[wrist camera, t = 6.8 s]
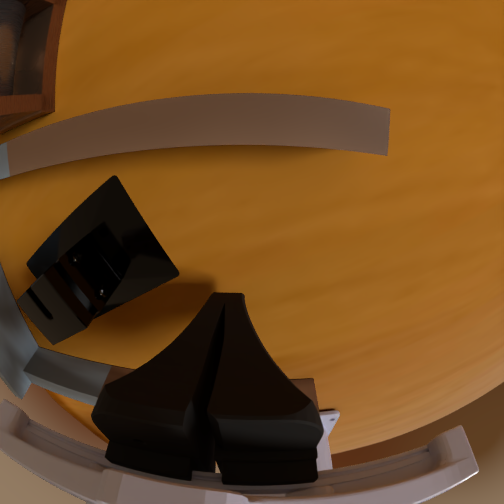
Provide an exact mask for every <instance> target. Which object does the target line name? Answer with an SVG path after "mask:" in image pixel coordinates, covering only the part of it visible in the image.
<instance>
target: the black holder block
mask: <svg viewBox="0 0 504 504" xmlns="http://www.w3.org/2000/svg"><path fill="white" fill-rule="evenodd" d="M27 266H28V268H29V269H30V270H31V272H32V273H33V275H34V276H35V277H36V279H37V280H36V281H35V282H34V283H33V284H32V285H31V287H29V288H28V290H27V291H26V292H25V293H24V294H23V295H22V296H21V297H20V298H19V299H18V300H17V303H18V304H19V305H20V307H21V308H22V309H23V311H24V312H25V313H26V314H27V316H28V317H29V318H30V319H31V321H32V322H33V323H34V324H35V325H36V327H37V328H38V329H39V330H40V331H41V332H42V333H43V335H44V336H45V337H46V338H47V339H48V340H49V341H50V342H51V343H52V344H53V345H54V344H56V343H58V342H60V341H62V340H64V339H66V338H68V337H70V336H72V335H74V334H76V333H78V332H80V331H82V330H84V329H86V328H88V326H89V324H90V323H91V321H92V320H93V319H95V318H97V317H99V316H101V315H103V314H105V313H107V312H108V311H110V310H112V309H114V308H116V307H118V306H120V305H122V304H124V303H126V302H128V301H130V300H132V299H134V298H136V297H138V296H140V295H142V294H144V293H146V292H148V291H150V290H152V289H154V288H156V287H158V286H160V285H161V284H163V283H165V282H167V281H169V280H171V279H173V278H175V277H177V276H179V271H178V270H177V268H176V267H175V265H174V264H173V263H172V261H171V260H170V258H169V257H168V255H167V254H166V252H165V251H164V249H163V248H162V247H161V245H160V244H159V242H158V241H157V239H156V238H155V236H154V235H153V233H152V232H151V230H150V229H149V227H148V225H147V224H146V222H145V221H144V219H143V218H142V216H141V215H140V213H139V211H138V210H137V208H136V207H135V205H134V203H133V202H132V200H131V199H130V197H129V195H128V194H127V192H126V190H125V189H124V187H123V185H122V184H121V182H120V180H119V179H118V177H117V176H115V175H114V176H112V177H111V178H109V179H108V180H107V181H106V182H105V183H104V184H102V185H101V186H100V187H99V188H98V189H97V190H96V191H95V192H93V193H92V194H91V195H90V196H89V197H88V198H87V199H86V200H85V201H84V202H83V203H82V204H81V205H80V206H78V207H77V208H76V209H75V210H74V211H73V212H72V213H71V214H70V215H69V216H68V217H67V218H66V219H65V220H64V221H63V222H62V223H61V225H60V226H59V227H58V228H57V229H56V230H55V231H54V232H53V233H52V234H51V235H50V236H49V237H48V238H47V240H46V241H45V242H44V243H43V244H42V245H41V246H40V248H39V249H38V250H37V251H36V252H35V253H34V255H33V256H32V257H31V258H30V259H29V261H28V262H27Z"/></svg>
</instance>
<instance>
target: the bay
mask: <svg viewBox="0 0 504 504" xmlns="http://www.w3.org/2000/svg"><path fill="white" fill-rule="evenodd" d="M389 124H390V109H388V108H383V107H379V106H374V105H368V104H363V103H357V102H351V101H345V100H338V99H330V98H322V97H313V96H301V95H287V94H263V93H232V94H208V95H194V96H183V97H174V98H165V99H158V100H151V101H145V102H139V103H133V104H127V105H122V106H117V107H113V108H108V109H104V110H100V111H95V112H92V113H88V114H84V115H80V116H77V117H73V118H70V119H67V120H63V121H60V122H57V123H54V124H51V125H48V126H45V127H42V128H40V129H37V130H34V131H32V132H29V133H27V134H24V135H22V136H19V137H17V138H14V139H12V140H10V141H8V142H5V143H3V144H1V145H0V179H3V178H6V177H10V176H13V175H17V174H20V173H24V172H27V171H31V170H35V169H39V168H43V167H47V166H51V165H56V164H60V163H65V162H70V161H75V160H80V159H85V158H91V157H97V156H103V155H110V154H116V153H124V152H132V151H140V150H149V149H160V148H172V147H186V146H206V145H282V146H302V147H316V148H328V149H338V150H348V151H356V152H364V153H372V154H378V155H385V156H387V153H388V140H389ZM132 371H134V370H133V369H127V368H122V367H116V366H111V365H106V364H102V363H97V362H93V361H88V360H84V359H80V358H76V357H72V356H68V355H65V354H61V353H58V352H54V351H51V350H47V349H44V348H41V347H39V346H38V345H37V343H36V341H35V339H34V338H33V336H32V334H31V332H30V330H29V328H28V326H27V324H26V322H25V321H24V319H23V316H22V314H21V312H20V310H19V308H18V306H17V304H16V302H15V299H14V297H13V295H12V292H11V290H10V288H9V285H8V283H7V280H6V278H5V275H4V272H3V270H2V267H1V264H0V377H1V379H2V380H3V381H4V382H5V384H6V385H7V386H8V388H9V389H10V390H11V391H12V392H13V394H14V395H15V396H17V397H18V398H20V399H22V398H23V397H24V395H25V393H26V391H27V390H28V388H29V386H30V384H31V383H34V384H36V385H38V386H41V387H43V388H45V389H48V390H50V391H53V392H56V393H58V394H61V395H64V396H66V397H69V398H72V399H75V400H78V401H81V402H84V403H87V404H90V405H94V406H95V404H96V402H97V399H98V397H99V395H100V393H101V391H102V389H103V388H104V386H105V384H108V383H110V382H112V381H114V380H116V379H119V378H121V377H123V376H125V375H127V374H129V373H130V372H132ZM290 381H291V382H292V383H293V384H294V385H295V386H296V387H297V388H299V389H300V390H301V391H302V392H303V393H304V394H305V395H306V396H308V397H309V398H310V399H311V400H312V401H313V402H314V404H315V406H316V408H317V411H318V413H319V407H318V401H317V396H316V390H315V384H314V379H294V380H290ZM319 415H320V413H319Z"/></svg>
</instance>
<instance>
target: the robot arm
mask: <svg viewBox="0 0 504 504" xmlns="http://www.w3.org/2000/svg"><path fill="white" fill-rule="evenodd" d="M319 413H320V415H319ZM319 413H318V411H317V408H316V406H315V404H314V402H313V401H312V400H311V399H310V398H309V397H308V396H306V395H305V394H304V393H303V392H302V391H301V390H300V389H299V388H297V387H296V386H295V385H294V384H293V383H292V382H291V381H290V380H289V379H288V377H287V376H286V375H285V374H284V373H283V372H282V370H281V369H280V368H279V367H278V366H277V365H276V363H275V362H274V361H273V359H272V358H271V356H270V355H269V354H268V352H267V351H266V349H265V348H264V346H263V344H262V343H261V341H260V339H259V337H258V335H257V333H256V331H255V329H254V327H253V325H252V322H251V320H250V318H249V315H248V312H247V309H246V305H245V296H244V294H242V293H216V292H214V293H212V294H211V296H210V297H209V299H208V300H207V302H206V303H205V305H204V306H203V308H202V309H201V310H200V312H199V313H198V314H197V315H196V317H195V318H194V319H193V320H192V322H191V323H190V324H189V325H188V326H187V327H186V328H185V330H184V331H183V332H182V333H181V334H180V335H179V336H178V337H177V338H176V339H175V340H174V341H173V342H172V343H171V344H170V345H169V346H167V347H166V348H165V349H164V350H163V351H161V352H160V353H159V354H158V355H156V356H155V357H154V358H152V359H151V360H150V361H148V362H147V363H145V364H144V365H142V366H141V367H139V368H137V369H136V370H134V371H132V372H130V373H129V374H127V375H125V376H123V377H121V378H119V379H116V380H114V381H112V382H110V383H108V384H105V386H104V388H103V389H102V391H101V393H100V395H99V397H98V399H97V402H96V404H95V406H94V409H93V411H92V414H91V418H92V420H93V422H94V424H95V425H96V426H97V427H98V429H99V430H100V431H101V432H102V433H103V434H104V435H105V436H106V437H107V438H108V439H109V440H110V441H109V444H108V447H107V450H106V451H104V450H101V449H98V448H95V447H92V446H89V445H87V444H84V443H81V442H79V441H76V440H74V439H71V438H69V437H67V436H64V435H62V434H60V433H57V432H55V431H53V430H51V429H49V428H47V427H45V426H43V425H41V424H39V423H37V422H35V421H33V420H31V419H30V418H29V417H28V416H27V415H26V413H25V412H24V411H23V410H21V409H20V408H19V407H17V406H16V405H14V404H12V403H11V402H9V401H8V400H6V399H3V401H2V403H1V404H0V450H1V451H2V452H4V453H5V454H6V455H7V456H9V457H10V458H11V459H13V460H14V461H16V462H17V463H18V464H20V465H22V466H23V467H24V468H26V469H27V470H29V471H30V472H32V473H33V474H35V475H37V476H39V477H40V478H42V479H43V480H45V481H47V482H49V483H50V484H52V485H54V486H56V487H58V488H59V489H61V490H63V491H65V492H67V493H69V494H71V495H73V496H75V497H77V498H80V499H82V500H84V501H86V504H420V503H422V502H424V501H427V500H429V499H431V498H433V497H435V496H437V495H439V494H442V493H444V492H445V491H447V490H449V489H451V488H453V487H455V486H456V485H458V484H460V483H462V482H463V481H465V480H467V479H468V478H470V477H471V476H473V475H475V474H476V473H478V471H479V469H478V466H477V463H476V460H475V458H474V455H473V452H472V449H471V447H470V444H469V442H468V439H467V437H466V434H465V432H464V429H463V427H462V425H459V426H457V427H454V428H452V429H450V430H448V431H445V432H443V433H441V434H439V435H437V436H436V437H434V438H433V439H432V440H431V441H430V442H429V443H428V444H427V445H424V446H422V447H419V448H416V449H413V450H410V451H407V452H404V453H401V454H397V455H394V456H390V457H387V458H383V459H379V460H375V461H371V462H367V463H362V464H358V465H353V466H348V467H342V468H336V469H333V468H332V462H331V455H330V448H329V442H328V435H329V434H330V432H331V430H332V429H333V427H334V425H335V423H336V421H337V420H338V418H339V416H340V414H339V411H336V410H334V411H325V412H319ZM216 462H217V465H218V468H219V470H220V473H215V466H216Z"/></svg>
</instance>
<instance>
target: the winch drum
mask: <svg viewBox="0 0 504 504" xmlns="http://www.w3.org/2000/svg"><path fill="white" fill-rule="evenodd" d="M66 2H67V0H0V134H3V133H5V132H7V131H9V130H11V129H13V128H15V127H17V126H19V125H22V124H24V123H26V122H29V121H31V120H33V119H36V118H38V117H41V116H43V115H46V114H49V113H51V112H54V111H55V76H56V63H57V53H58V45H59V38H60V31H61V26H62V20H63V15H64V10H65V6H66Z"/></svg>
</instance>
